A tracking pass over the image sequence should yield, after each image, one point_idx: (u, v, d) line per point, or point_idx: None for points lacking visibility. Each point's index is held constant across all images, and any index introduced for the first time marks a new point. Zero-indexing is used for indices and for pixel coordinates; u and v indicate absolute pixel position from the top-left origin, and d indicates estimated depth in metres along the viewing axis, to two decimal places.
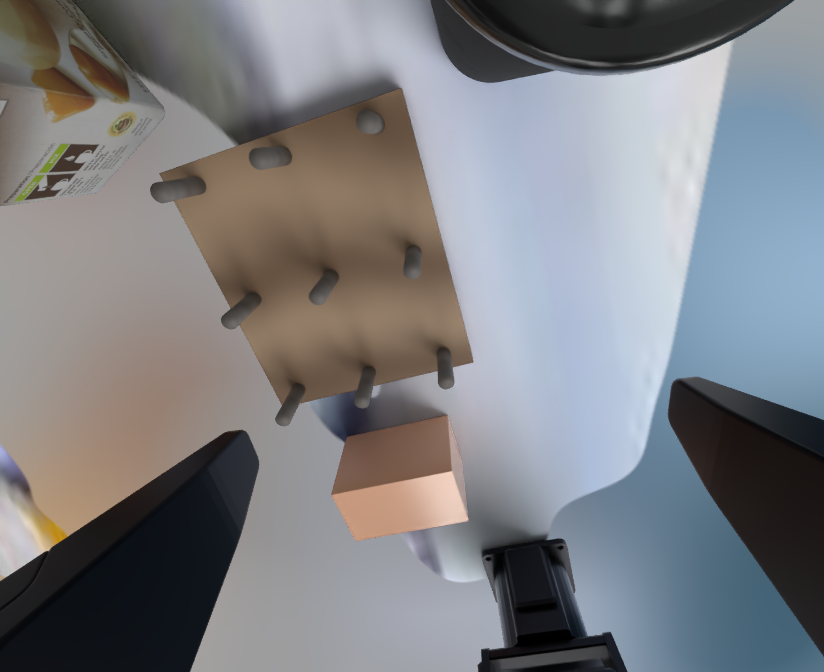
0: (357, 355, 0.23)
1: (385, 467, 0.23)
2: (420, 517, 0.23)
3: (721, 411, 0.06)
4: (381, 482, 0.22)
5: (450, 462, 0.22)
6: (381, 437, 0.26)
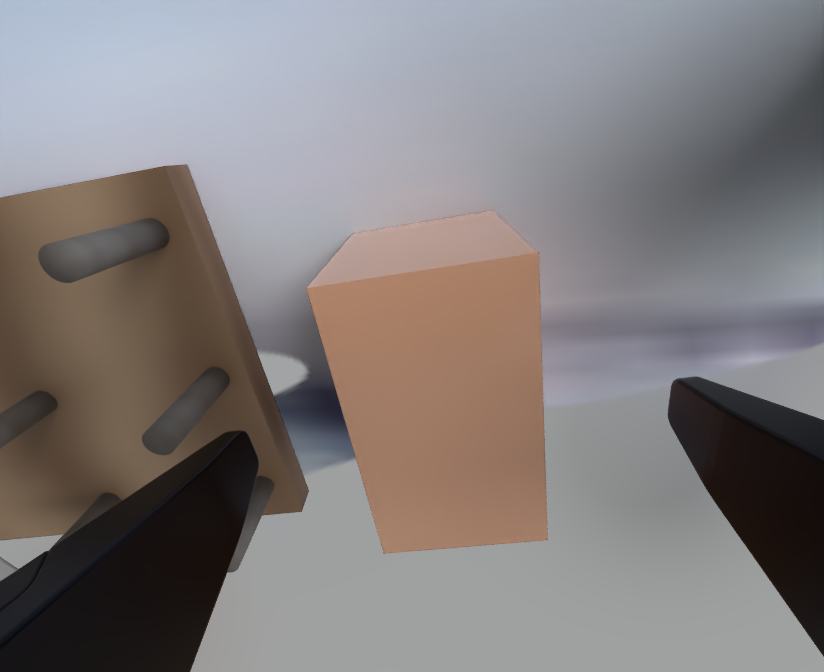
0: (184, 391, 0.13)
1: None
2: (491, 393, 0.08)
3: (721, 411, 0.06)
4: (358, 456, 0.09)
5: None
6: None
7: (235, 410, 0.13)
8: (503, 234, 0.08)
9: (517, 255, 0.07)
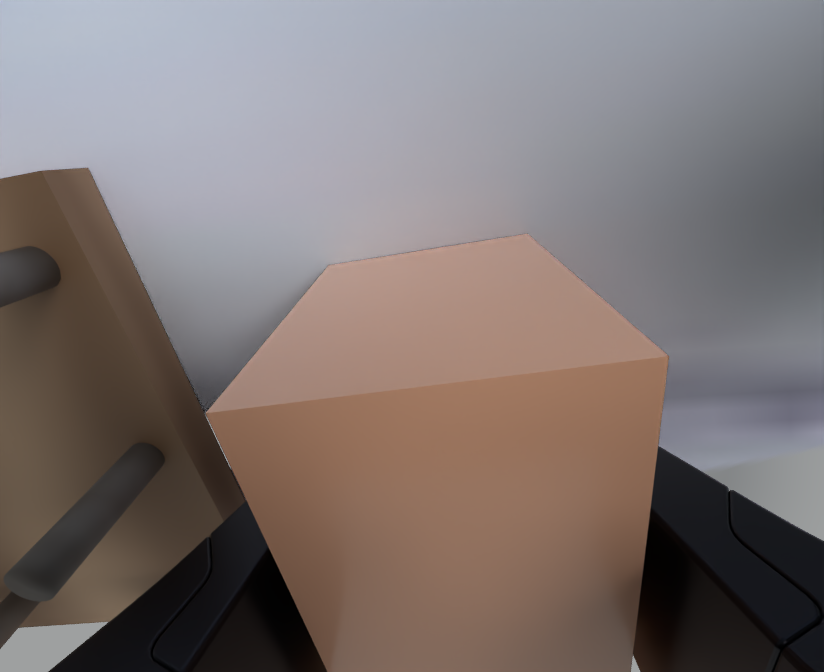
0: (105, 471, 0.09)
1: None
2: (550, 574, 0.04)
3: None
4: (325, 641, 0.05)
5: (240, 378, 0.04)
6: None
7: (175, 495, 0.10)
8: (566, 290, 0.05)
9: (623, 359, 0.03)
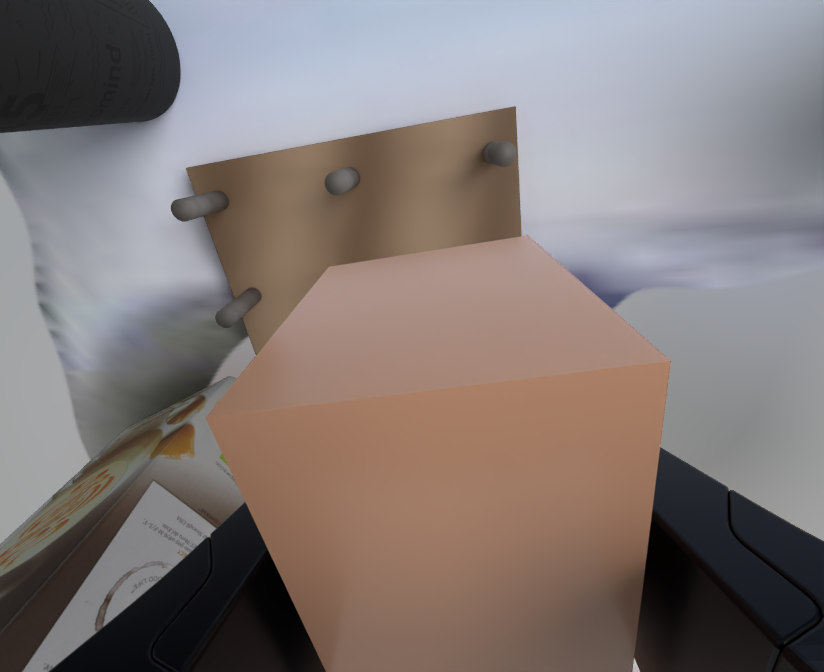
0: None
1: None
2: (551, 579, 0.04)
3: None
4: (324, 645, 0.05)
5: (241, 381, 0.04)
6: None
7: None
8: (567, 293, 0.05)
9: (625, 364, 0.03)
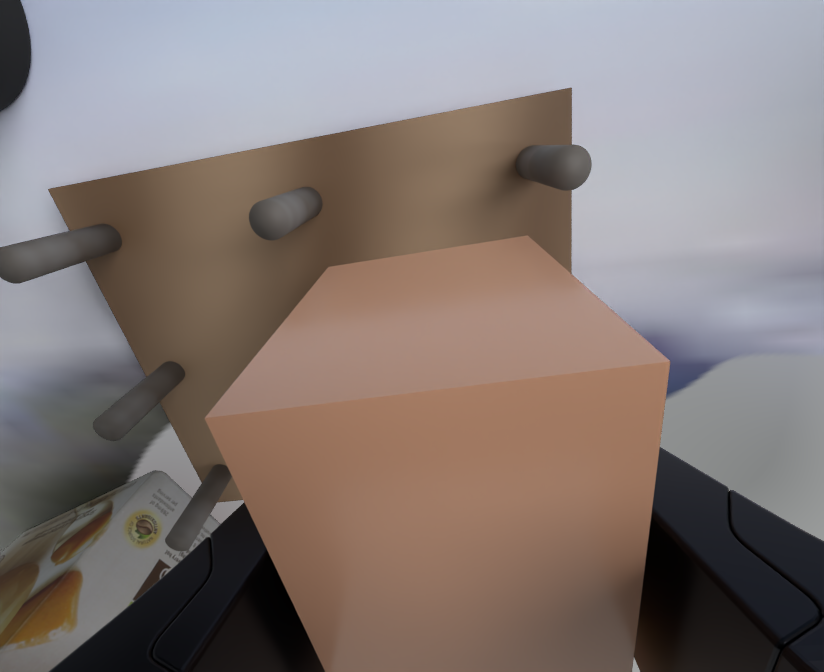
0: None
1: None
2: (551, 580, 0.04)
3: None
4: (324, 645, 0.05)
5: (240, 382, 0.04)
6: None
7: None
8: (566, 294, 0.05)
9: (624, 365, 0.03)
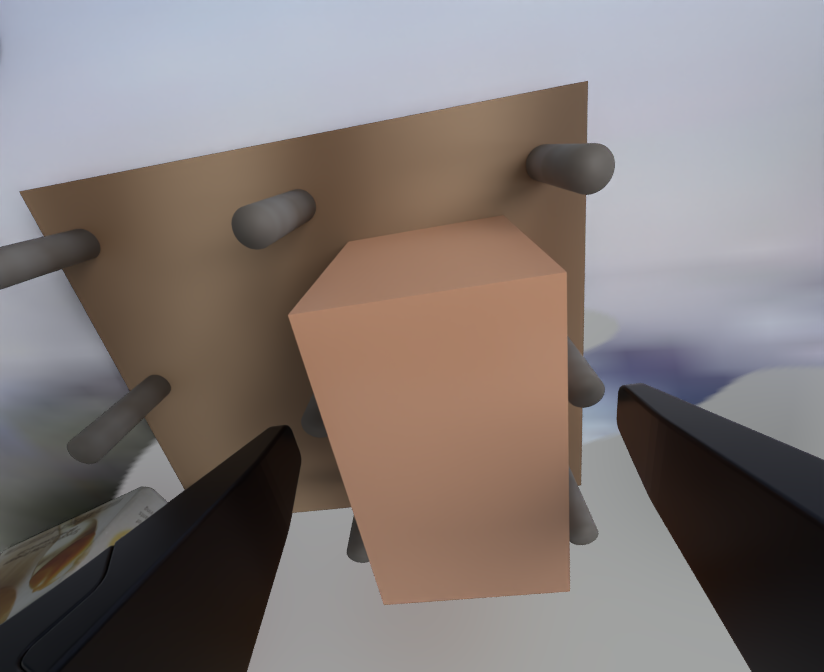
0: None
1: None
2: (507, 433, 0.07)
3: (656, 418, 0.07)
4: (354, 501, 0.08)
5: None
6: None
7: None
8: (519, 246, 0.07)
9: (541, 275, 0.06)
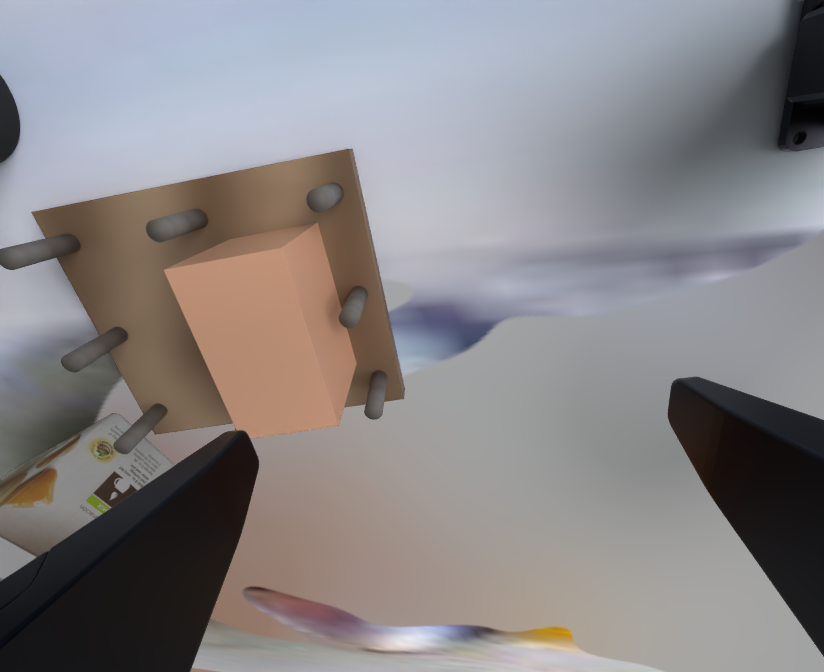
0: None
1: None
2: (278, 328, 0.14)
3: (721, 411, 0.06)
4: (214, 373, 0.15)
5: (176, 265, 0.14)
6: None
7: (368, 318, 0.19)
8: (289, 238, 0.14)
9: (271, 249, 0.13)
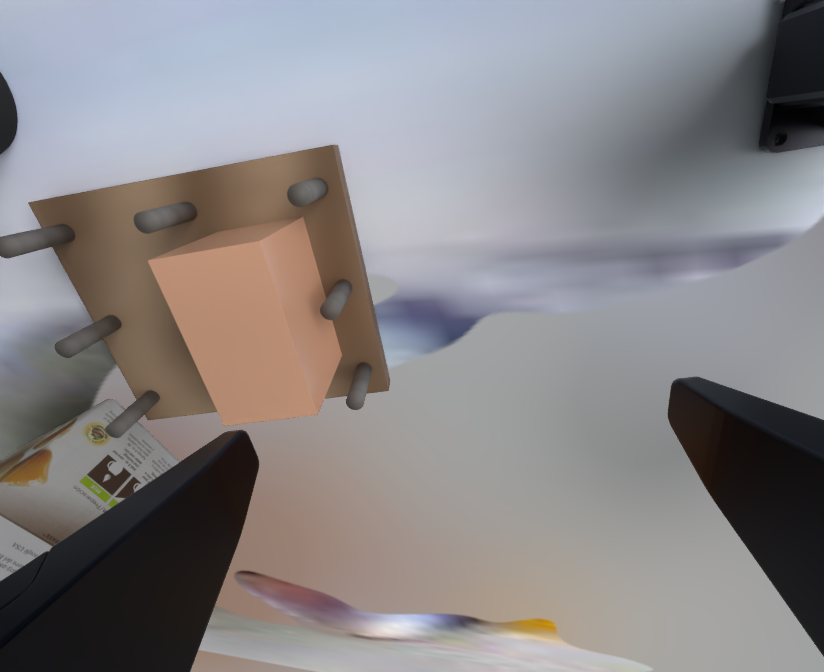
0: None
1: None
2: (258, 319, 0.14)
3: (721, 411, 0.06)
4: (198, 361, 0.15)
5: (160, 256, 0.14)
6: None
7: (352, 311, 0.19)
8: (270, 232, 0.15)
9: (250, 242, 0.13)
